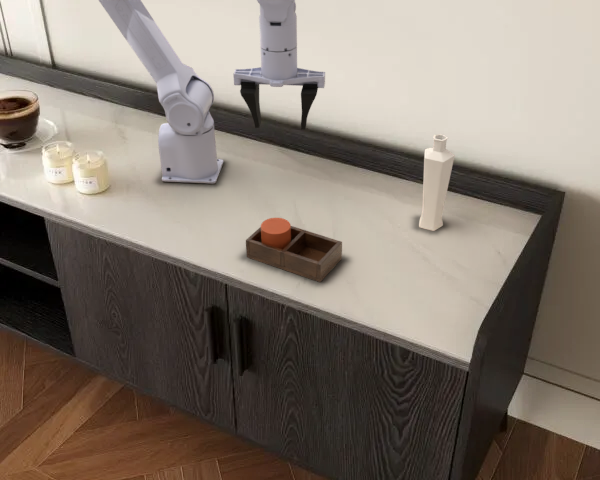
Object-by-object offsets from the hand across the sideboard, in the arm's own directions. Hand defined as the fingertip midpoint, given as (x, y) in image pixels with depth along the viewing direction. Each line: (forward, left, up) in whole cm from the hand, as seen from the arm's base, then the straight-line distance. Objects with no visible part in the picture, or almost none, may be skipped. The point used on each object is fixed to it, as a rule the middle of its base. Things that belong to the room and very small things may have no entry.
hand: (280, 126), depth 127 cm
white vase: (+25, -13, -10) cm, 30 cm away
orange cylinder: (+2, -23, -9) cm, 25 cm away
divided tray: (+5, -24, -9) cm, 26 cm away
